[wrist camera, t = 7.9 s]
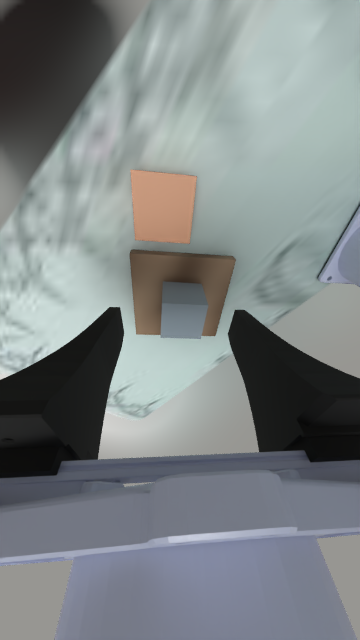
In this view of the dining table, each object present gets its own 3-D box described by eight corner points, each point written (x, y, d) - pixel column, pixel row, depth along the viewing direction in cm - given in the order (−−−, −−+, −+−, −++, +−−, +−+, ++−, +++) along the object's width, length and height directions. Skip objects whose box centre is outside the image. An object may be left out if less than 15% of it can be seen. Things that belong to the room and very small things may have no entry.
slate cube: (201, 283, 19) (208, 305, 16) (195, 314, 22) (200, 338, 19) (162, 281, 19) (162, 303, 16) (161, 313, 21) (160, 337, 18)
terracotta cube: (190, 175, 15) (196, 176, 11) (185, 230, 17) (189, 243, 14) (138, 170, 14) (130, 169, 11) (141, 227, 17) (135, 240, 14)
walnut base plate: (233, 256, 19) (235, 259, 18) (213, 331, 25) (215, 336, 24) (131, 249, 18) (129, 253, 17) (137, 329, 24) (136, 334, 23)
